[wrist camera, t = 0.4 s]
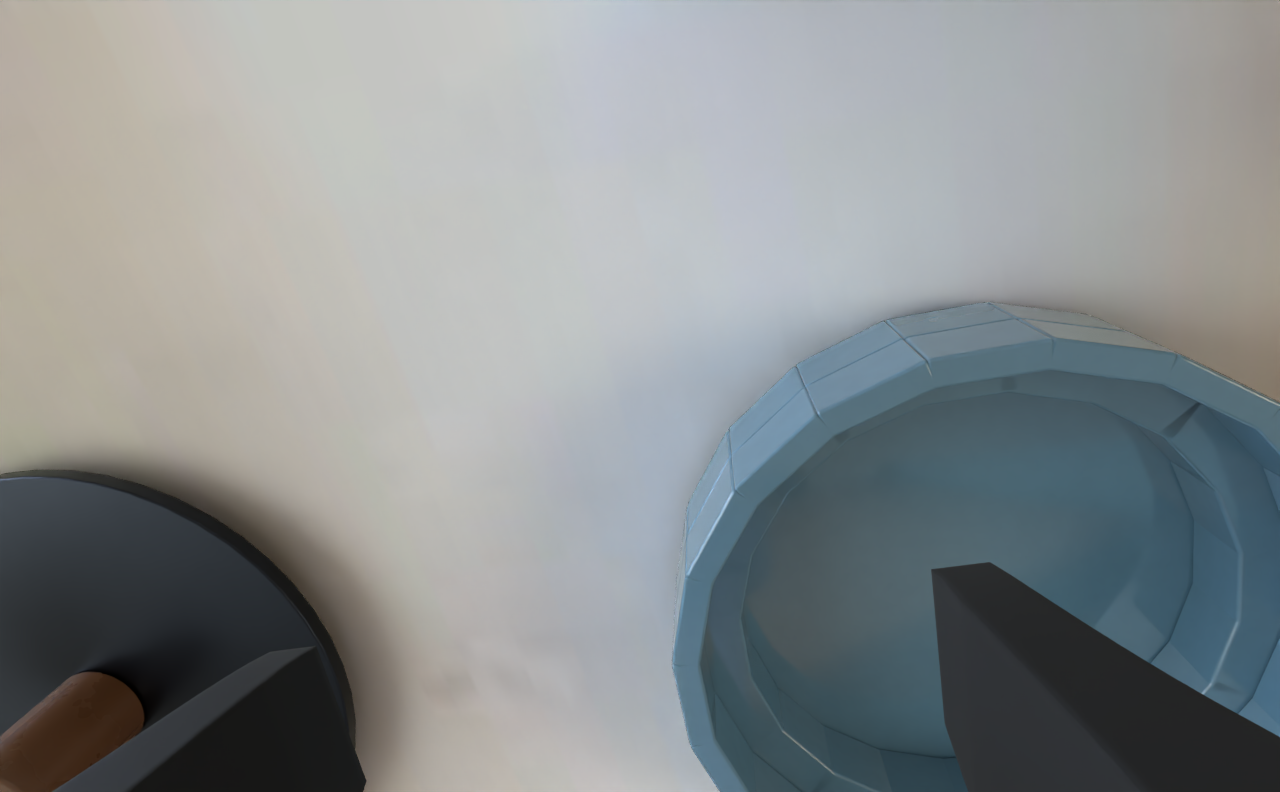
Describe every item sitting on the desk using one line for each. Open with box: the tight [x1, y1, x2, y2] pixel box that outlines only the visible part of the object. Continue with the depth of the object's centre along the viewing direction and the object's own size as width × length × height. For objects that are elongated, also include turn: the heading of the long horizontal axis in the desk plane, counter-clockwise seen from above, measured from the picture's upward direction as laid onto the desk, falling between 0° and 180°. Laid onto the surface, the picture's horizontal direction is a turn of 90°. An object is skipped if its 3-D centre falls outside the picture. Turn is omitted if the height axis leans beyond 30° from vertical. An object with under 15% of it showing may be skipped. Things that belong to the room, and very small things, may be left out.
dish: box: [672, 302, 1280, 792], centre depth 17 cm, size 14×14×4 cm
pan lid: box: [0, 470, 356, 792], centre depth 20 cm, size 14×14×5 cm
